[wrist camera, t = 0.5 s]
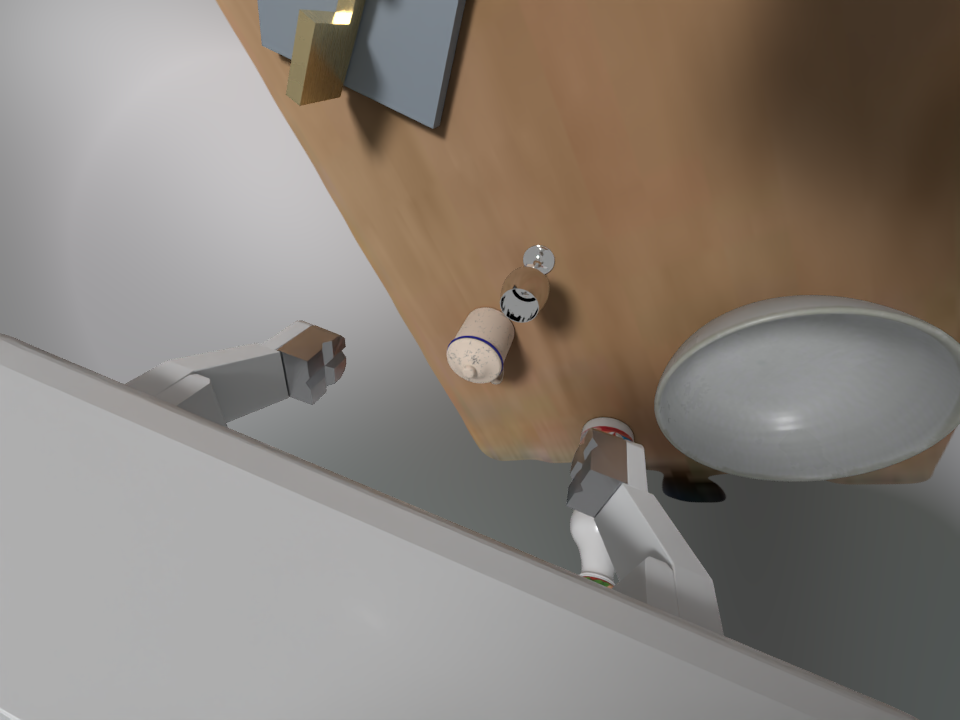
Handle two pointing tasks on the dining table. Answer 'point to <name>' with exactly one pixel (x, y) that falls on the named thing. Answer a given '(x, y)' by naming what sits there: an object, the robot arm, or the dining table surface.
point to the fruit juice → (584, 526)
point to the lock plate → (385, 49)
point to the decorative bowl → (810, 389)
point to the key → (323, 52)
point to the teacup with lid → (481, 346)
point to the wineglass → (527, 285)
